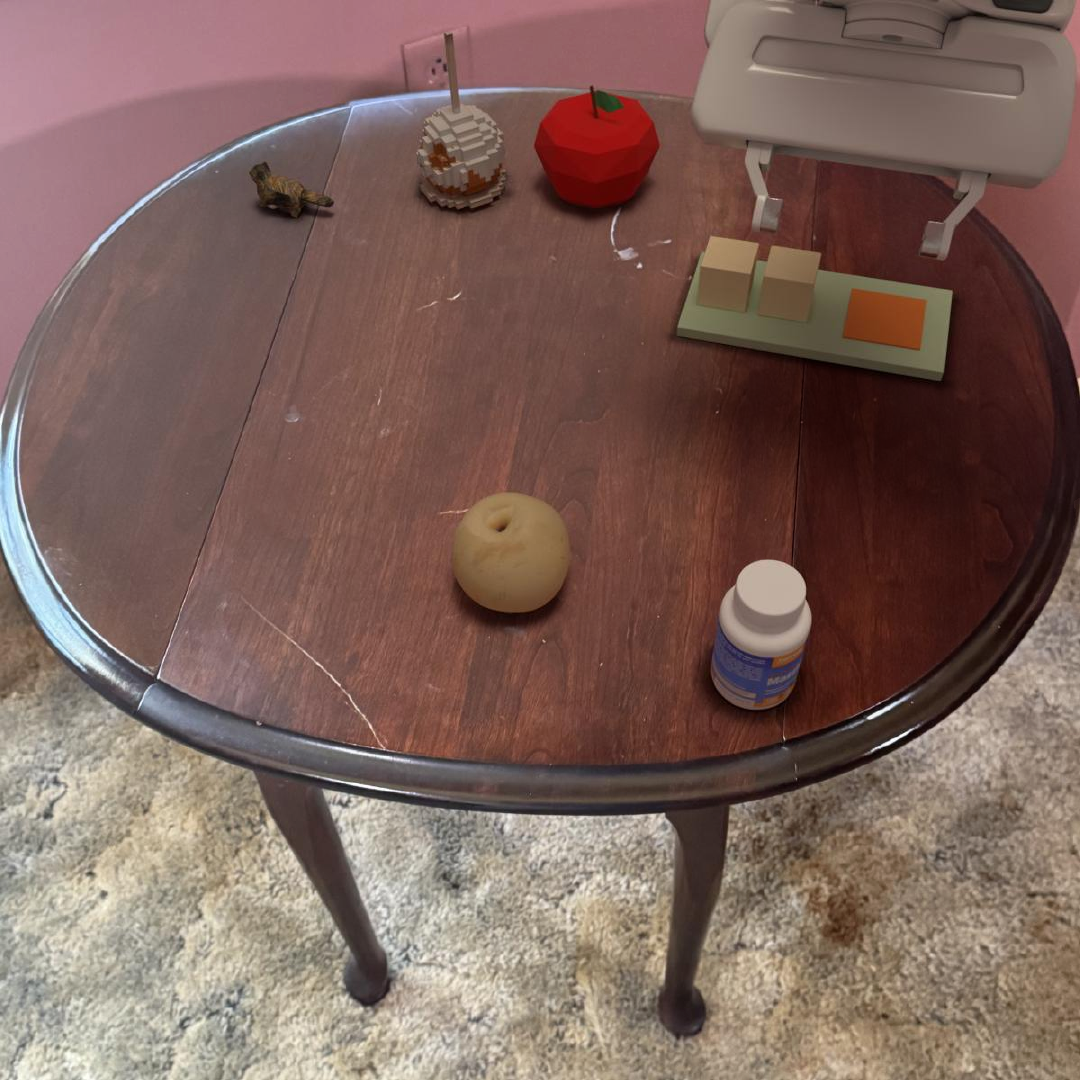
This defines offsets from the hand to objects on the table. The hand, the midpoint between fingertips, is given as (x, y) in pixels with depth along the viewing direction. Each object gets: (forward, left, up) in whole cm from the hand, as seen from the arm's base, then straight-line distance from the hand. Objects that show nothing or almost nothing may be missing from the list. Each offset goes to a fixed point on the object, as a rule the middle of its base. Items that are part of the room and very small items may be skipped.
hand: (846, 244), depth 63 cm
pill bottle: (0, +16, -22) cm, 27 cm away
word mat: (+1, -19, -22) cm, 29 cm away
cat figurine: (+49, -22, -22) cm, 58 cm away
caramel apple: (+35, -29, -22) cm, 50 cm away
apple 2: (+23, -32, -22) cm, 45 cm away
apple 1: (+17, +13, -22) cm, 31 cm away
